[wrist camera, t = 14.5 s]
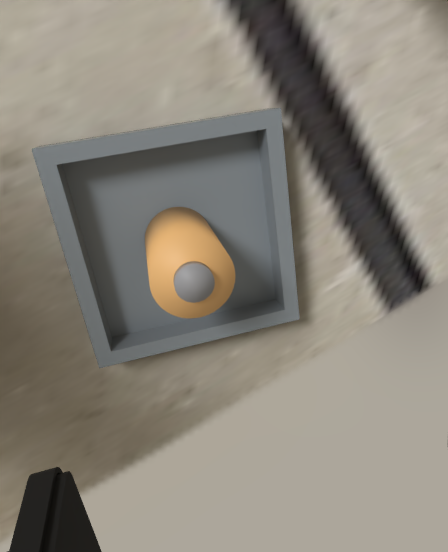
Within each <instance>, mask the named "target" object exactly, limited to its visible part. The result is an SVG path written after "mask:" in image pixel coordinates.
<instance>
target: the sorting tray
mask: <svg viewBox="0 0 448 552" xmlns="http://www.w3.org/2000/svg"><path fill="white" fill-rule="evenodd" d="M32 152H33V155H34V159H35V162H36V165H37V168H38V172H39V175H40V178H41V181H42V185H43V188H44V191H45V194H46V197H47V201H48V204H49V207H50V210H51V214H52V217H53V220H54V223H55V226H56V230H57V233H58V236H59V239H60V243H61V246H62V249H63V252H64V256H65V259H66V262H67V265H68V268H69V272H70V275H71V278H72V281H73V285H74V288H75V291H76V294H77V297H78V301H79V304H80V307H81V310H82V314H83V317H84V320H85V323H86V327H87V330H88V333H89V336H90V339H91V343H92V346H93V349H94V352H95V356H96V359H97V362H98V365H99V368H103V367H107V366H111V365H115V364H119V363H123V362H127V361H131V360H135V359H139V358H143V357H148V356H152V355H156V354H160V353H164V352H168V351H172V350H176V349H180V348H184V347H188V346H192V345H196V344H201V343H205V342H209V341H213V340H217V339H221V338H225V337H229V336H233V335H237V334H241V333H245V332H250V331H254V330H258V329H262V328H266V327H270V326H274V325H278V324H282V323H286V322H290V321H294V320H298V319H300V318H299V307H298V296H297V285H296V273H295V262H294V251H293V240H292V228H291V217H290V206H289V195H288V183H287V172H286V161H285V150H284V138H283V127H282V116H281V108H272V109H263V110H257V111H251V112H245V113H239V114H233V115H227V116H221V117H215V118H209V119H202V120H196V121H190V122H184V123H178V124H172V125H166V126H160V127H154V128H148V129H142V130H135V131H129V132H123V133H117V134H111V135H105V136H99V137H93V138H87V139H81V140H75V141H69V142H62V143H56V144H50V145H44V146H39V147H36V148H33V149H32ZM171 207H186V208H190V209H192V210H195V211H196V212H198V213H199V214H200V215H202V216H203V217H204V219H205V220H206V221H207V223H208V224H209V226H210V227H211V229H212V230H213V232H214V233H215V235H216V236H217V238H218V239H219V241H220V242H221V244H222V246H223V247H224V249H225V250H226V252H227V253H228V255H229V256H230V258H231V260H232V262H233V265H234V268H235V284H234V288H233V290H232V293H231V295H230V297H229V298H228V299H227V301H226V302H225V303H224V304H223V305H222V306H221V307H220V308H219V309H217V310H216V311H214V312H213V313H211V314H209V315H206V316H203V317H199V318H181V317H177V316H174V315H172V314H170V313H168V312H166V311H165V310H163V309H162V308H161V307H160V306H159V305H158V304H157V302H156V301H155V299H154V298H153V296H152V293H151V290H150V285H149V276H148V267H147V258H146V248H145V232H146V229H147V227H148V224H149V223H150V221H151V220H152V219H153V218H154V217H155V216H156V215H157V214H158V213H160V212H161V211H163V210H165V209H168V208H171Z"/></svg>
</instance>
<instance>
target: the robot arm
mask: <svg viewBox="0 0 448 552" xmlns="http://www.w3.org/2000/svg"><path fill="white" fill-rule="evenodd" d="M8 552H101V549H100V546H99V544H98V541H97V539H96V536H95V533H94V531H93V528H92V526H91V523H90V520H89V518H88V515H87V513H86V510H85V507H84V505H83V502H82V500H81V497H80V494H79V492H78V489H77V487H76V484H75V481H74V479H73V476H72V474H71V472H70V471H68V472H64V473H63V472H62V470H61V469H60V468H59V467H56V468H52V469H49V470H45V471H42V472H38V473H34V474H31V475H30V476H29V479H28V481H27V485H26V489H25V493H24V497H23V501H22V504H21V508H20V512H19V516H18V520H17V523H16V527H15V531H14V535H13V539H12V543H11V547H10V550H9V551H8Z"/></svg>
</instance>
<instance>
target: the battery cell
mask: <svg viewBox="0 0 448 552" xmlns="http://www.w3.org/2000/svg"><path fill="white" fill-rule="evenodd" d="M145 248H146V258H147V267H148V276H149V285H150V290H151V293H152V296H153V298H154V299H155V301H156V302H157V304H158V305H159V306H160V307H161V308H162V309H163V310H165V311H166V312H168V313H170V314H172V315H174V316H177V317H181V318H199V317H203V316H206V315H209V314H211V313H213V312H214V311H216V310H217V309H219V308H220V307H221V306H222V305H223V304H224V303H225V302H226V301H227V299H228V298H229V297H230V295H231V293H232V290H233V288H234V284H235V268H234V265H233V262H232V260H231V258H230V256H229V255H228V253H227V252H226V250H225V249H224V247H223V246H222V244H221V242H220V241H219V239H218V238H217V236H216V235H215V233H214V232H213V230H212V229H211V227H210V226H209V224H208V223H207V221H206V220H205V219H204V217H203V216H202V215H200V214H199V213H198V212H196V211H195V210H192V209H190V208H186V207H171V208H168V209H165V210H163V211H161V212H160V213H158V214H157V215H156V216H155V217H154V218H153V219H152V220H151V221H150V223H149V224H148V227H147V229H146V232H145Z"/></svg>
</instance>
